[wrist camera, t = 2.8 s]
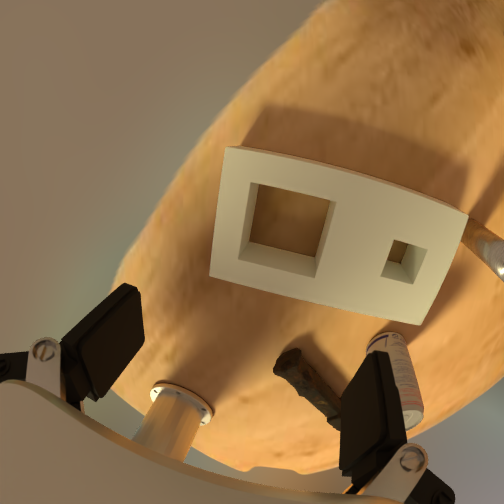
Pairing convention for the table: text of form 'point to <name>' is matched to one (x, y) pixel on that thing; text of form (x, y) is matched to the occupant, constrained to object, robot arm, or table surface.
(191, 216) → the table surface
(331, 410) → the hand tool
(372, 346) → the energy drink
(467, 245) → the grey metal peg
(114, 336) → the robot arm
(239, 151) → the socket block
